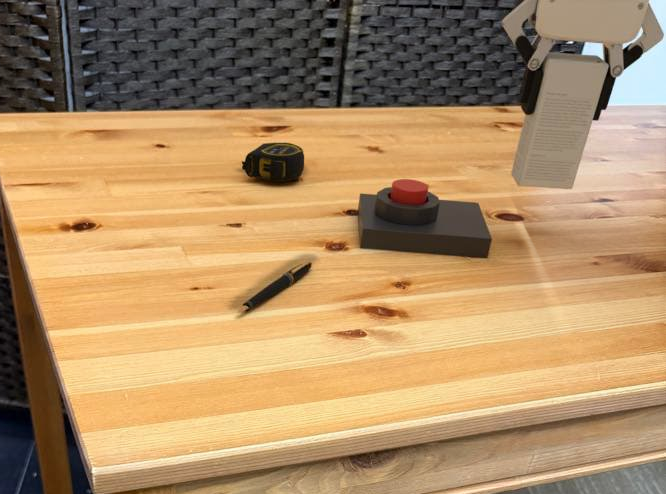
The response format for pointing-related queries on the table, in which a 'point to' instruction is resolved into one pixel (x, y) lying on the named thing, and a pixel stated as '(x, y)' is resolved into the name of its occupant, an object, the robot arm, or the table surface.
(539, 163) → the cosmetic box
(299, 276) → the fountain pen
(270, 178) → the tape measure
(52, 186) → the table surface
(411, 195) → the button
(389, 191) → the console
